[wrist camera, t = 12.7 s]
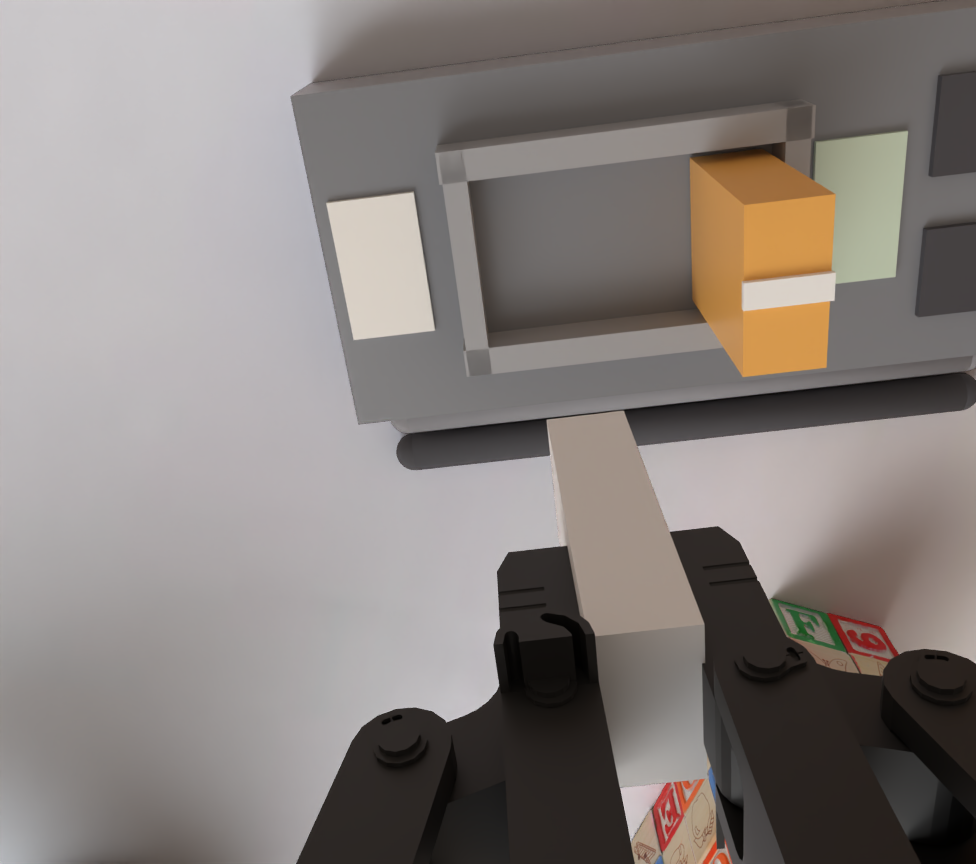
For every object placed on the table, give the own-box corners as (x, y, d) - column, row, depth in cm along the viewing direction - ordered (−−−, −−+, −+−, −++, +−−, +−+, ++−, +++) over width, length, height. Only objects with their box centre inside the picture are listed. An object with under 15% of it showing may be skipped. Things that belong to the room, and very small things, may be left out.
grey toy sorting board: (369, 382, 38) (353, 442, 33) (311, 83, 33) (281, 101, 28) (994, 311, 37) (1073, 362, 32) (1040, -13, 32) (1143, -11, 27)
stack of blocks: (707, 896, 54) (766, 1133, 43) (609, 875, 53) (643, 1112, 42) (883, 623, 44) (1015, 835, 34) (768, 592, 44) (865, 800, 33)
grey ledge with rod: (401, 460, 40) (398, 478, 39) (388, 391, 38) (384, 407, 37) (965, 398, 39) (984, 414, 37) (975, 324, 37) (995, 338, 36)
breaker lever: (690, 299, 32) (742, 380, 26) (687, 157, 30) (744, 207, 24) (760, 291, 32) (830, 370, 26) (763, 148, 30) (840, 195, 24)
